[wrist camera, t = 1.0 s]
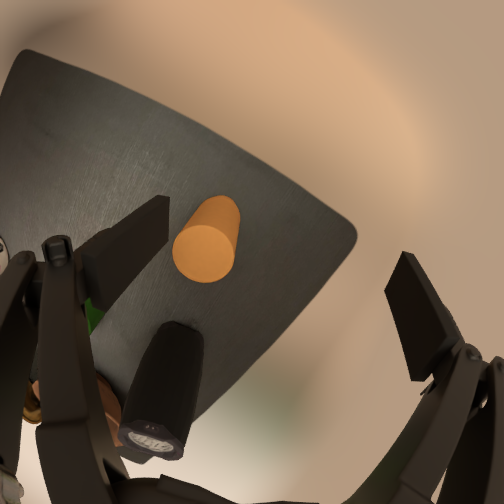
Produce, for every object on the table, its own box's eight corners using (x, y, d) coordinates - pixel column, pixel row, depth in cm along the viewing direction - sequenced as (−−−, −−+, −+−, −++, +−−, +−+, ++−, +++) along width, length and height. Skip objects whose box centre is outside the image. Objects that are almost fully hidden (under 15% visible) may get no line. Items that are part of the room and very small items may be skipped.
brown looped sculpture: (60, 419, 45) (41, 438, 47) (64, 380, 55) (43, 405, 58) (-3, 387, 34) (-10, 412, 36) (8, 348, 45) (-3, 379, 47)
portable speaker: (152, 351, 42) (116, 448, 24) (157, 309, 38) (108, 417, 20) (201, 365, 43) (182, 468, 25) (213, 325, 39) (191, 443, 21)
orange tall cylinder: (196, 196, 32) (163, 233, 20) (235, 186, 31) (224, 218, 19) (207, 233, 34) (184, 288, 22) (245, 224, 33) (241, 276, 21)
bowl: (62, 388, 50) (45, 419, 40) (46, 329, 41) (19, 363, 31) (139, 421, 52) (128, 457, 42) (141, 370, 44) (123, 416, 34)
